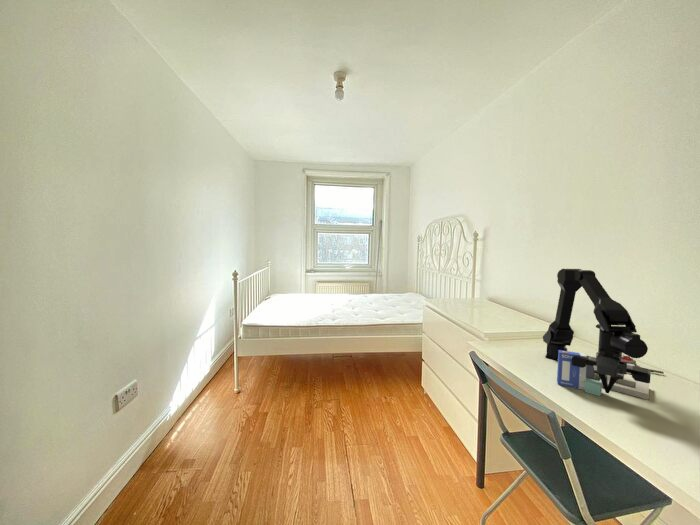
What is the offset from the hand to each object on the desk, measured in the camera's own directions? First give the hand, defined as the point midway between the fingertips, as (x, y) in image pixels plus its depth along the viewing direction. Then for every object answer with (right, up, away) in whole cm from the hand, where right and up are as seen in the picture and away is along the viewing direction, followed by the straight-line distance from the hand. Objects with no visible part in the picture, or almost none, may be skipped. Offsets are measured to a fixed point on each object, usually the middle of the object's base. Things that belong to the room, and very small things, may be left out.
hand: (607, 392), depth 96 cm
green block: (-3, -1, +3) cm, 4 cm away
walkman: (-7, -1, +7) cm, 10 cm away
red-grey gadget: (+27, 0, +23) cm, 35 cm away
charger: (+5, 0, +14) cm, 15 cm away
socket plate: (+10, -1, +5) cm, 12 cm away
